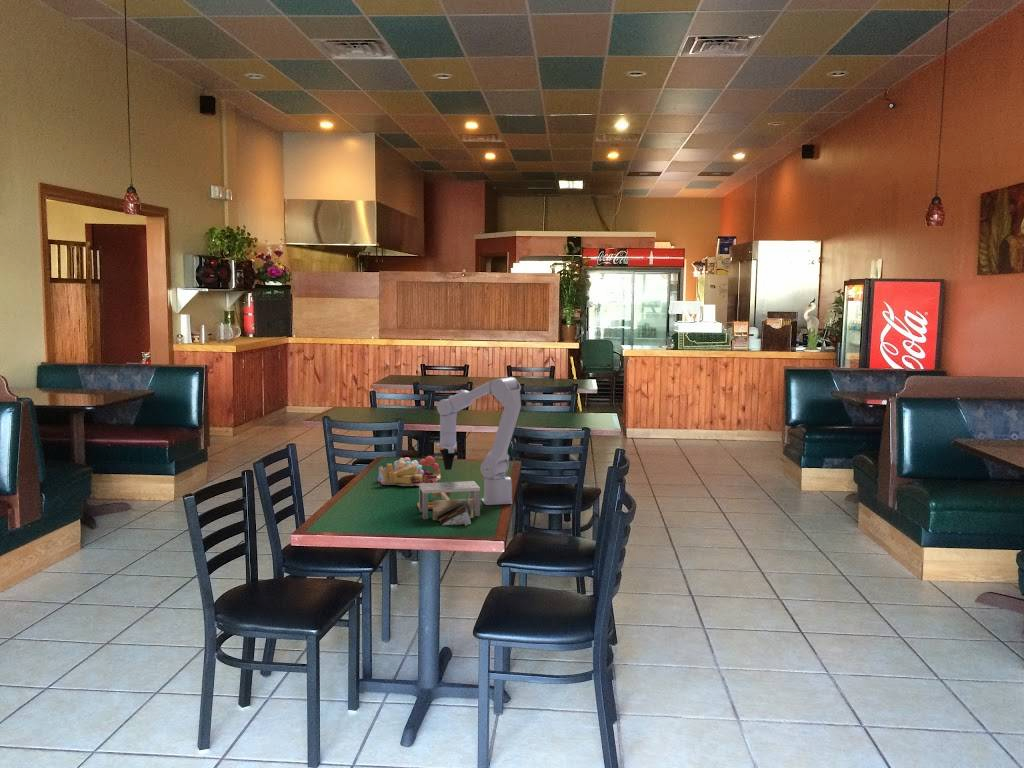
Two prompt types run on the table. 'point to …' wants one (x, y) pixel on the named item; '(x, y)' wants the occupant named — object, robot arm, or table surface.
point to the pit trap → (430, 505)
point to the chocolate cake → (455, 514)
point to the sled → (447, 503)
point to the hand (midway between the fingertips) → (448, 469)
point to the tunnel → (448, 487)
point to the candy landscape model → (409, 472)
